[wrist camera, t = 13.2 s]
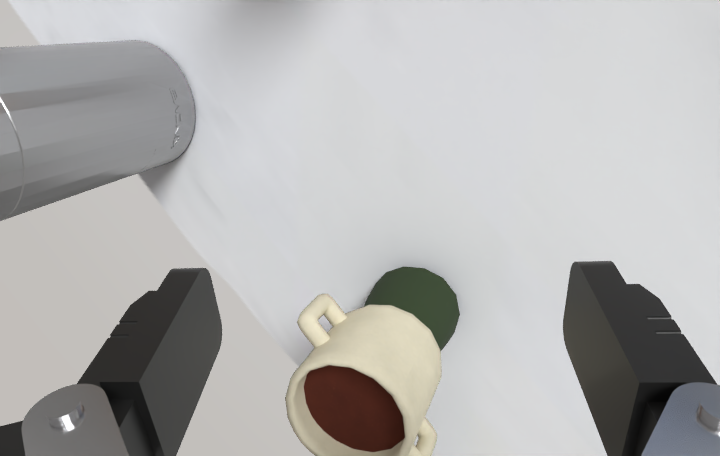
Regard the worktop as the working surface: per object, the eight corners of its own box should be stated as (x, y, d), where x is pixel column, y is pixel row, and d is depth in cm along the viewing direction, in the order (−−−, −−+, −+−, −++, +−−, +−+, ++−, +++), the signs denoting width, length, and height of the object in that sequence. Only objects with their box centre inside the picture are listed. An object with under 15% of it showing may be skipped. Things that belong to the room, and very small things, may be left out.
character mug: (335, 265, 41) (236, 362, 30) (408, 215, 37) (327, 302, 26) (425, 382, 41) (362, 520, 30) (505, 342, 38) (467, 482, 27)
